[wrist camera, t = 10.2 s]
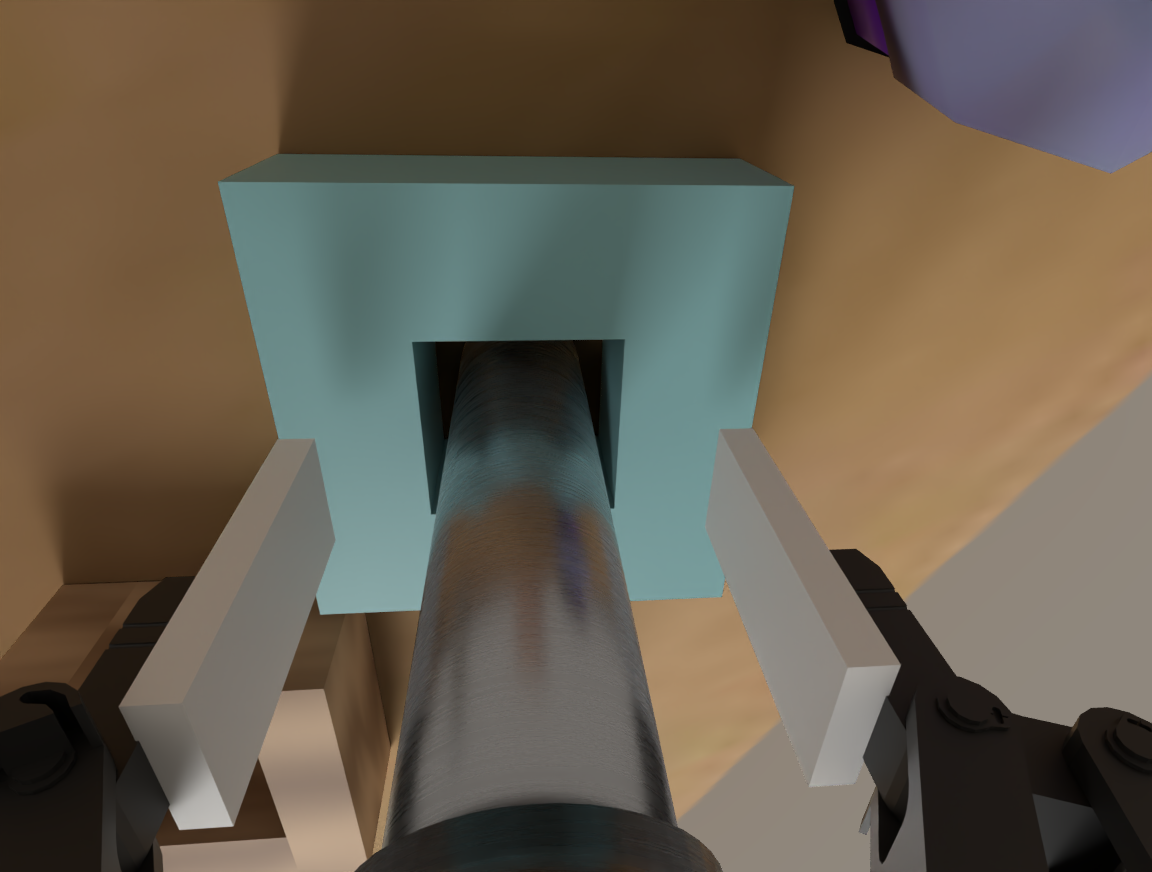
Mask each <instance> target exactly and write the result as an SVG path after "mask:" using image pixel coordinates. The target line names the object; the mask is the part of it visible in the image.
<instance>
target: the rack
mask: <svg viewBox="0 0 1152 872" xmlns="http://www.w3.org/2000/svg"><path fill="white" fill-rule="evenodd" d="M160 582H161V581H150V582H125V583H99V584H74V585H62V586H61V588H60V589H59V590H58V591H57V592H56V594H55V595H54V596H53V597H52V598H51V600H50V601H49V602H48V603H47V604H46V606H45V607H44V608H43V609H42V610H41V612H40V613H39V614H38V615H37V616H36V618H35V619H34V620H33V621H32V622H31V624H30V625H29V626H28V627H27V628H26V630H25V631H24V632H23V633H22V634H21V636H20V637H19V638H18V639H17V640H16V642H15V643H14V644H13V645H12V647H11V648H10V649H9V650H8V651H7V653H6V654H5V655H4V656H3V657H2V659H1V660H0V697H1V696H3V695H5V694H7V693H10V692H12V691H14V690H16V689H19V688H21V687H24V686H29V685H33V684H38V683H42V682H58V683H66V684H68V685H70V686H71V687H73V688H75V689H76V690H78V689H79V688H80V686H81V685H82V683H83V682H84V681H85V679H86V678H87V676H88V675H89V673H90V672H91V670H92V669H93V667H94V666H95V664H96V663H97V661H98V660H99V658H100V657H101V655H102V654H103V652H104V651H105V649H109V643H110V642H111V640H112V639H113V637H114V636H115V634H116V633H117V631H118V630H119V629H122V627H123V622H124V621H125V619H126V618H127V617H128V615H129V614H130V612H131V611H132V609H133V608H134V606H135V605H136V603H137V602H138V600H139V599H140V598H141V597H142V596H144V595H145V594H146V593H147V592H149V591H150V590H151V589H152V588H154V587H155V586H156V585H157V584H158V583H160ZM390 749H391V747H390V742H389V737H388V731H387V726H386V721H385V715H384V710H383V705H382V700H381V694H380V689H379V684H378V679H377V673H376V668H375V663H374V658H373V652H372V647H371V642H370V637H369V631H368V626H367V621H366V616H365V613H346V614H323V615H320V611H319V607H318V603H317V598H316V596H315V599H314V602H313V605H312V608H311V610H310V613H309V616H308V619H307V622H306V624H305V627H304V630H303V633H302V636H301V638H300V641H299V644H298V647H297V650H296V652H295V655H294V658H293V661H292V664H291V666H290V669H289V672H288V675H287V678H286V680H285V683H284V686H283V689H282V692H281V694H280V697H279V700H278V703H277V706H276V709H275V711H274V714H273V717H272V720H271V723H270V725H269V728H268V731H267V734H266V737H265V739H264V742H263V745H262V748H261V751H260V753H259V756H258V759H257V762H256V765H255V767H254V770H253V773H252V776H251V779H250V781H249V784H248V787H247V790H246V793H245V796H244V798H243V801H242V804H241V807H240V810H239V812H238V815H237V818H236V821H235V824H234V826H232V827H217V828H203V829H188V830H179V828H178V826H177V824H176V822H175V820H174V818H173V816H172V814H171V812H170V810H169V808H168V810H167V812H166V815H165V817H164V819H163V821H162V823H161V826H160V828H159V830H158V832H157V835H156V839H157V841H158V843H159V846H160V849H161V852H162V856H163V872H354V871H355V870H356V869H357V868H358V867H359V866H360V865H361V864H363V863H364V862H365V861H366V860H368V859H369V858H370V857H371V856H372V853H373V847H374V842H375V836H376V830H377V824H378V818H379V813H380V807H381V801H382V795H383V790H384V784H385V778H386V772H387V766H388V761H389V755H390Z"/></svg>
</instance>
